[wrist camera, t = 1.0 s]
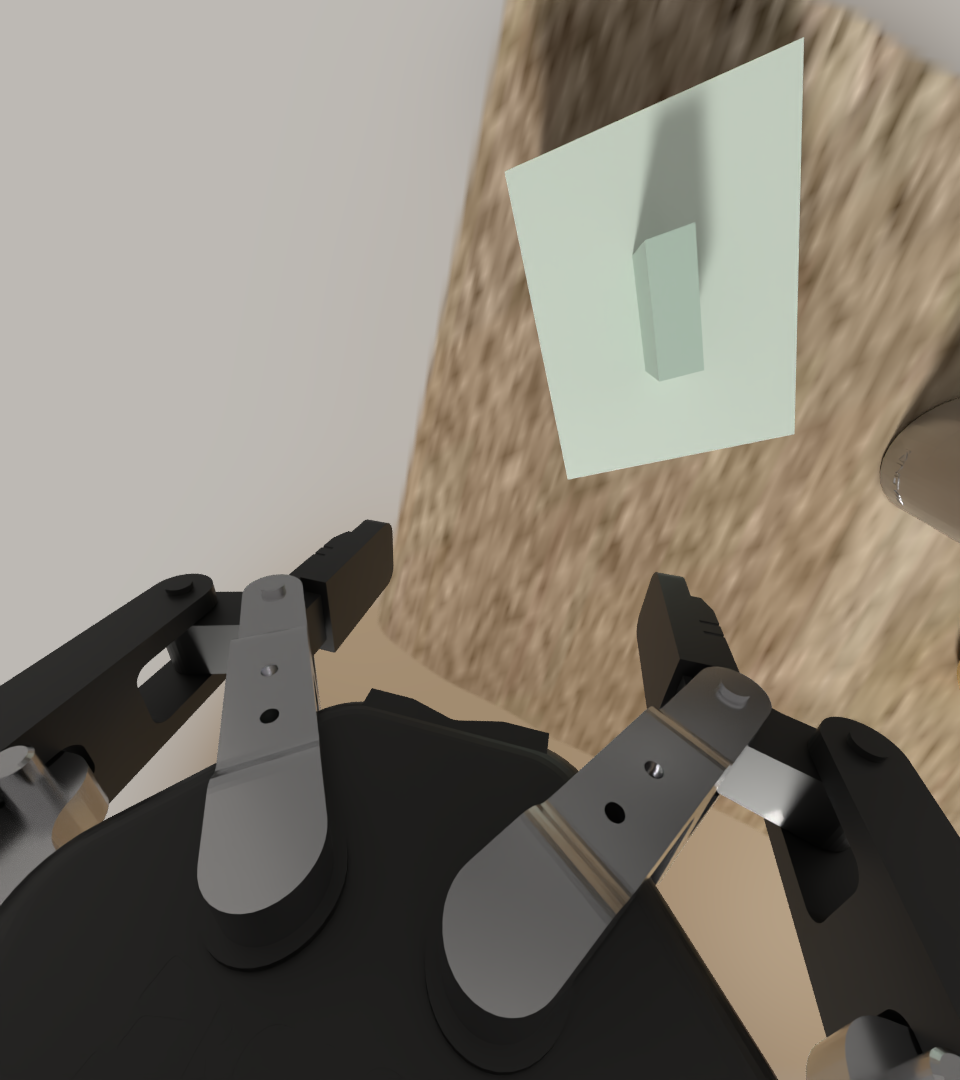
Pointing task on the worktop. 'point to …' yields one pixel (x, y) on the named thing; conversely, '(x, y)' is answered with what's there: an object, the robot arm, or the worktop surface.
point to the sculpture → (958, 674)
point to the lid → (670, 270)
